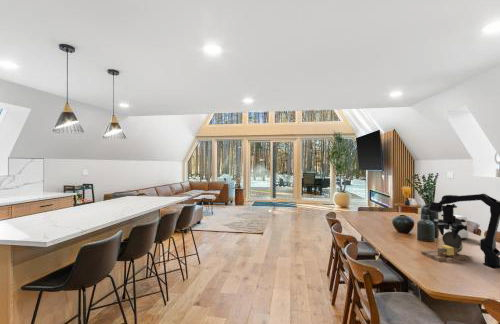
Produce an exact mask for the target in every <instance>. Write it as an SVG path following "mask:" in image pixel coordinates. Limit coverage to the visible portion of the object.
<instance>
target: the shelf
mask: <svg viewBox="0 0 500 324" xmlns="http://www.w3.org/2000/svg"><path fill="white" fill-rule="evenodd" d="M453 248H454V255H447V253H443V252H444V251H447V249H445V248H441V247H438V248H437V249H435V250H434V249H433V250H429V249H428V250H421V251H420V253H421V255H422V256H425V257H427V258H430V259H432V260H435V261H437V262H447V259H448V258H452V259H454V260H456V261H466V260H467V256H465V255H462V254H460V253H459V252H458V248H455V247H453ZM446 256H448V258H447V257H446Z"/></svg>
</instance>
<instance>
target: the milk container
mask: <svg viewBox="0 0 500 324" xmlns="http://www.w3.org/2000/svg"><path fill="white" fill-rule="evenodd" d="M454 216H456V218H457V219H460V220H462V222H461V224H462V225H464V226H465V229H463V230H460V231H459V232H458V235H459V236H460V237H461V239H462V240H463V239H467V238H468V237H469V229H468V217H467V216H465V215H460V214H454ZM446 224H447V223H446ZM453 224H454V223H453ZM451 228H452V227H451V226H449V225H445V226H444V234H445V233H447V232H452V231H451Z"/></svg>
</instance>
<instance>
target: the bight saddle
mask: <svg viewBox="0 0 500 324" xmlns="http://www.w3.org/2000/svg"><path fill="white" fill-rule="evenodd" d="M440 248H445V249H447V251H444V252H443V253H447V255H454V248H453V247H450V246H447V245H444V244H443V245H441V246H440Z"/></svg>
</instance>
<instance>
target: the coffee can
mask: <svg viewBox="0 0 500 324" xmlns="http://www.w3.org/2000/svg"><path fill="white" fill-rule="evenodd" d="M441 237H442V242H443V245H447V246H450V247H455V248H458V253H461V252H462V250H463V247H464V246H463V239H461V237H460V236H459V235H458V234H457V236H456V238H455V239H454V238H453V235H452V232H447V233H445V234H444V235H442V236H441Z"/></svg>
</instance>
